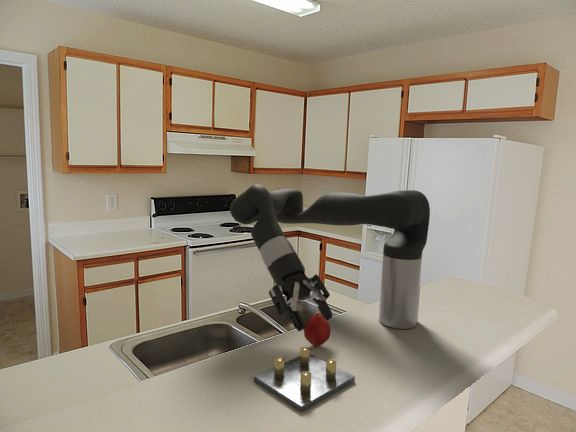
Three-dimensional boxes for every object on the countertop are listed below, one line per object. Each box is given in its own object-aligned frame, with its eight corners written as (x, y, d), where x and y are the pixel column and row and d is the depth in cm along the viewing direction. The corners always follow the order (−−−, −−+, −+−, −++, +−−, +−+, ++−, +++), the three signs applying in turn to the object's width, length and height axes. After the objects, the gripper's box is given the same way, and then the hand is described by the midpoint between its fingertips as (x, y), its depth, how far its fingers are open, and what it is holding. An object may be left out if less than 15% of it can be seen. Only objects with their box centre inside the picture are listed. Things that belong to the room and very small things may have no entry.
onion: (298, 342, 91) (300, 308, 90) (322, 339, 93) (324, 305, 92) (309, 354, 85) (311, 317, 84) (334, 351, 87) (336, 315, 86)
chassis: (307, 357, 84) (307, 338, 84) (354, 381, 76) (355, 360, 75) (253, 381, 75) (254, 360, 74) (301, 412, 66) (302, 388, 65)
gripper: (295, 264, 102) (328, 323, 95) (249, 274, 92) (283, 340, 86) (311, 247, 97) (347, 308, 91) (265, 256, 87) (302, 324, 81)
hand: (316, 323), depth 88 cm, fingers open, 8 cm apart
